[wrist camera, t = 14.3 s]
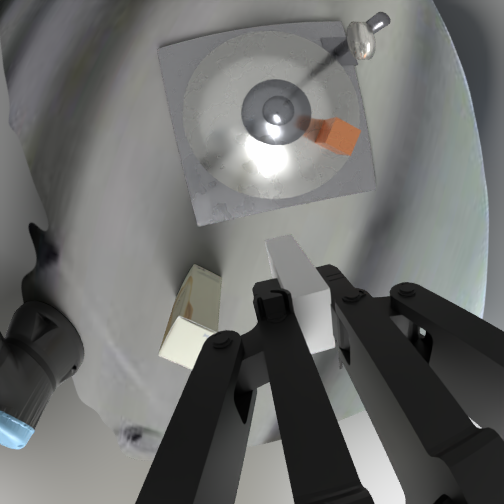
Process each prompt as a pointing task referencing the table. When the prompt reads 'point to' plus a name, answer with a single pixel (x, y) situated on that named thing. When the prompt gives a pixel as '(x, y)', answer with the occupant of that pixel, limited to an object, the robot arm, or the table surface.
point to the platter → (236, 137)
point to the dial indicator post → (356, 40)
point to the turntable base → (209, 188)
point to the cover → (276, 112)
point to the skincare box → (192, 317)
